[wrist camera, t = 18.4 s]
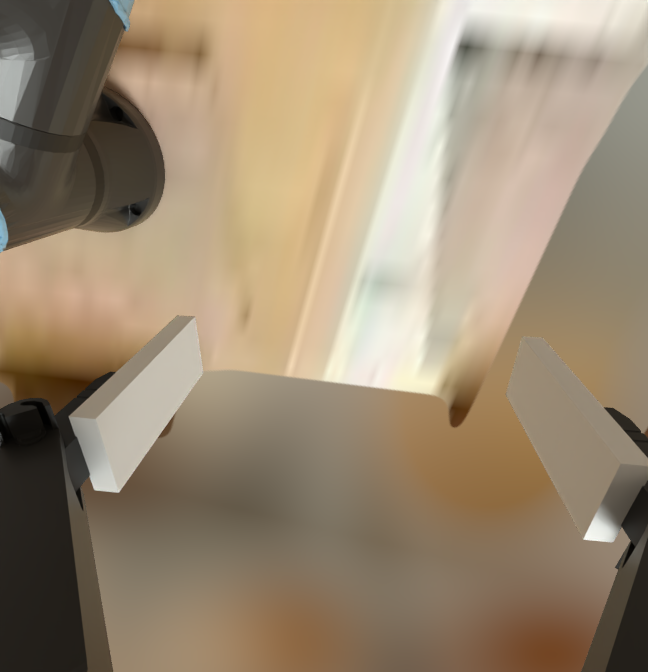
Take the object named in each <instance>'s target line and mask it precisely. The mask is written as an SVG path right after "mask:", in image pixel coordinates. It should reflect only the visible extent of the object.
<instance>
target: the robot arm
mask: <svg viewBox="0 0 648 672" xmlns="http://www.w3.org/2000/svg"><path fill="white" fill-rule="evenodd" d="M133 3H134V0H0V253H1V252H2V251H5V250H8V249H11V248H14V247H17V246H20V245H23V244H26V243H29V242H32V241H35V240H38V239H41V238H45V237H48V236H51V235H54V234H57V233H60V232H63V231H66V230H69V229H73V228H76V229H83V230H89V231H96V232H118V231H122V230H125V229H128V228H131V227H133V226H136V225H138V224H140V223H142V222H143V221H145V220H146V219H147V218H148V217H150V215H151V214H152V213H153V212H154V211H155V209H156V208H157V206H158V204H159V202H160V200H161V197H162V194H163V189H164V182H165V169H164V162H163V157H162V153H161V150H160V146H159V144H158V141H157V139H156V137H155V135H154V133H153V131H152V129H151V128H150V126H149V124H148V123H147V121H146V120H145V119H144V117H143V116H142V115H141V114H140V112H139V111H138V110H137V109H136V108H135V107H134V106H133V105H132V104H131V103H130V102H128V101H127V100H126V99H125V98H123V97H122V96H120V95H119V94H117V93H116V92H114V91H112V90H110V89H108V88H105V87H104V84H105V81H106V79H107V76H108V73H109V71H110V68H111V65H112V62H113V60H114V57H115V54H116V52H117V49H118V46H119V43H120V41H121V38H122V35H123V33H124V30H125V31H127V32H128V30H129V27H130V21H129V16H130V13H131V9H132V6H133ZM202 374H203V367H202V360H201V353H200V347H199V340H198V333H197V326H196V319H195V317H194V316H178V315H177V316H176V317H175V318H174V319H173V320H172V321H171V322H170V323H169V324H168V325H167V326H166V327H164V328H163V329H162V330H161V331H160V332H159V333H158V334H157V335H156V336H155V337H154V338H153V339H152V340H150V341H149V342H148V343H147V344H146V345H145V346H144V347H143V348H142V349H141V350H140V351H139V352H138V353H136V354H135V355H134V356H133V357H132V358H131V359H130V360H129V361H128V362H127V363H126V364H125V365H124V366H122V367H121V368H120V369H119V370H118V371H117V372H109V373H107V374H105V375H103V376H101V377H99V378H97V379H96V380H94V381H93V382H92V383H91V384H90V385H89V386H88V387H87V388H85V391H84V390H83V391H82V392H81V393H80V394H79V395H78V396H77V398H74V399H73V400H72V401H71V402H70V403H68V404H67V405H66V406H65V407H64V408H63V409H62V410H61V411H59V412H58V413H57V414H56V415H55V416H54V414H53V411H52V409H51V406H50V404H49V402H48V401H47V400H45V399H42V398H30V399H24V400H20V401H17V402H14V403H11V404H8V405H7V406H5V407H3V408H1V409H0V672H113V668H112V662H111V656H110V650H109V644H108V638H107V632H106V626H105V620H104V614H103V608H102V602H101V596H100V590H99V584H98V578H97V572H96V566H95V560H94V554H93V548H92V542H91V536H90V530H89V524H88V518H87V512H86V506H85V500H84V494H83V492H82V489H81V485H82V484H83V483H84V482H85V480H86V479H87V478H88V477H89V476H90V479H91V482H92V484H93V487H94V490H98V491H108V492H120V490H121V489H122V487H123V486H124V485H125V483H126V482H127V480H128V479H129V478H130V476H131V475H132V473H133V472H134V470H135V469H136V468H137V466H138V465H139V463H140V462H141V460H142V459H143V457H144V456H145V455H146V453H147V452H148V451H149V449H150V448H151V446H152V445H153V443H154V442H155V441H156V439H157V438H158V436H159V435H160V434H161V432H162V431H163V429H164V428H165V426H166V425H167V424H168V422H169V421H170V419H171V418H172V416H173V415H174V414H175V412H176V411H177V409H178V408H179V407H180V405H181V404H182V402H183V401H184V399H185V398H186V397H187V395H188V394H189V392H190V391H191V389H192V388H193V386H194V385H195V384H196V382H197V381H198V379H199V378H200V377H201V375H202ZM506 396H507V398H508V400H509V402H510V404H511V406H512V408H513V409H514V411H515V413H516V415H517V417H518V419H519V420H520V422H521V424H522V426H523V428H524V430H525V432H526V434H527V435H528V437H529V439H530V441H531V443H532V445H533V447H534V449H535V451H536V452H537V454H538V456H539V458H540V460H541V462H542V463H543V465H544V467H545V469H546V471H547V473H548V475H549V477H550V479H551V480H552V482H553V484H554V486H555V488H556V490H557V491H558V493H559V495H560V497H561V499H562V501H563V503H564V504H565V506H566V508H567V510H568V512H569V514H570V516H571V518H572V520H573V521H574V523H575V525H576V527H577V529H578V530H579V533H580V535H581V536H582V538H583V539H585V540H595V541H604V542H613V541H614V540H615V538H616V536H617V534H618V533H619V531H620V529H621V527H622V528H623V529H624V531H625V532H626V534H627V535H628V537H629V539H630V540H631V541H630V543H629V545H628V546H627V548H626V550H625V552H624V553H623V555H622V557H621V558H620V560H619V562H618V564H617V565H616V567H615V568H617V569H618V572H617V575H616V578H615V581H614V583H613V586H612V589H611V591H610V594H609V597H608V600H607V602H606V605H605V608H604V611H603V613H602V616H601V619H600V622H599V625H598V627H597V630H596V633H595V635H594V638H593V641H592V644H591V647H590V649H589V652H588V655H587V657H586V660H585V663H584V666H583V668H582V671H581V672H648V438H647V437H646V436H645V435H644V434H643V433H641V431H640V429H639V428H638V427H637V426H636V425H635V424H634V423H633V422H632V421H631V420H630V419H629V418H628V417H626V416H624V415H623V414H621V413H620V412H618V411H617V410H615V409H614V408H605V407H603V406H602V405H601V404H600V403H599V402H598V400H597V399H596V398H595V397H594V396H593V395H592V394H591V393H590V391H589V390H588V389H587V388H586V387H585V386H584V385H583V383H582V382H581V381H580V380H579V379H578V378H577V376H576V375H575V374H574V373H573V372H572V371H571V370H570V369H569V367H568V366H567V365H566V364H565V363H564V362H563V360H562V359H561V358H560V357H559V356H558V355H557V354H556V352H555V351H554V350H553V349H552V348H551V347H550V346H549V344H548V343H547V342H546V341H545V340H544V339H543V338H538V337H522V339H521V343H520V346H519V350H518V353H517V357H516V360H515V364H514V367H513V371H512V374H511V378H510V381H509V385H508V388H507V392H506Z"/></svg>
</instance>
